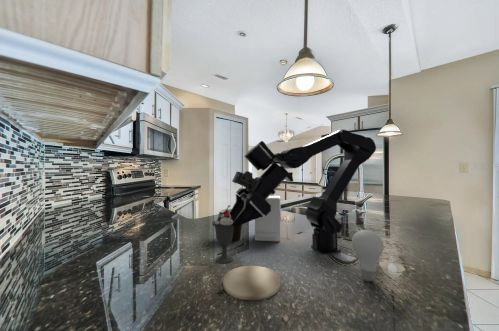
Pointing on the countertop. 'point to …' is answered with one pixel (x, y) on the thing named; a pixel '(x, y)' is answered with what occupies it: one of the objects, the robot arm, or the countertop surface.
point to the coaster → (251, 282)
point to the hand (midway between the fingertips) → (230, 222)
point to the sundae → (224, 235)
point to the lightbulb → (367, 252)
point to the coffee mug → (236, 229)
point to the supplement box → (269, 222)
